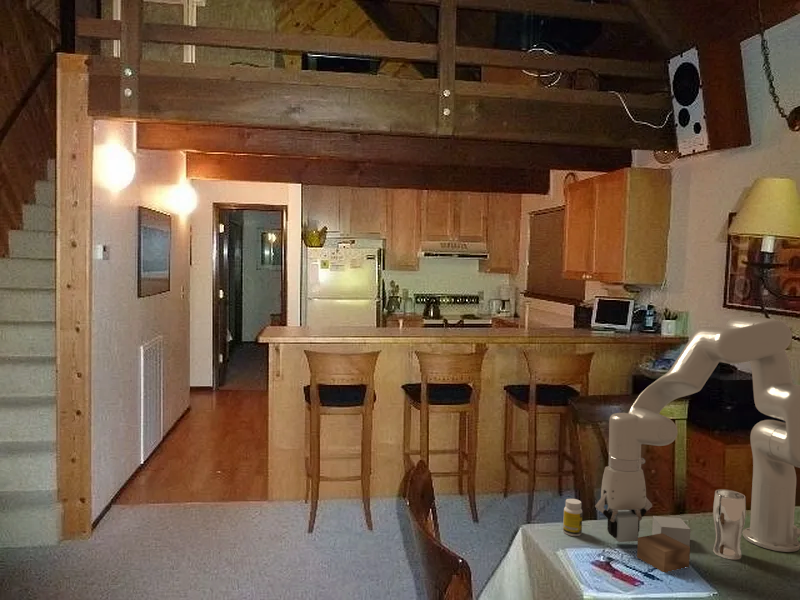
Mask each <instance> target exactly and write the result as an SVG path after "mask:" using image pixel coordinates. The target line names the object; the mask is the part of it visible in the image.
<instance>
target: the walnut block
mask: <svg viewBox="0 0 800 600" xmlns="http://www.w3.org/2000/svg"><path fill="white" fill-rule="evenodd" d="M636 550H637V552H636V558H637V559H639V560H641V561H643V562H644V563H646V564H648V565H649V564H650V566H651V565H652V566H651V567H653V568H655V569H656V568H657V570H658V569H659V570H658V571H660V572H661V573H663V572H665V573H668V571H670V572H673V571H672V570H674V571H677V569H679V570H681V568H683V569H686V568H685V567H688V568H690V559H691V558H690V555H691V553H690V552H691V547H689V546H687V545H685V544H683V543H681V542H679V541H677V540H675V539H673V538H671V537H669V536H667V535H665V534H663V533H660V534H655V535H652V534H650V535H645V536H638V541H637V549H636Z"/></svg>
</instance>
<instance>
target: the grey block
mask: <svg viewBox="0 0 800 600" xmlns="http://www.w3.org/2000/svg"><path fill="white" fill-rule="evenodd" d="M651 530H652V531H651V535H655V534H660V533H663V534H665V535H667V536H669V537H671V538H673V539H675V540H677V541H679V542H681V543H683V544H685V545H687V546H689V547H690V545H691V527H689V526H688V524H686V522H685V521H684V520H683V519H682V518H681V517H670V516H657V515H652V527H651ZM690 548H691V547H690Z"/></svg>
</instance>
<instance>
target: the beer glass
mask: <svg viewBox="0 0 800 600" xmlns="http://www.w3.org/2000/svg"><path fill="white" fill-rule="evenodd" d="M746 503H747V502H746V496H745V494H743V493H741V492H738V491H735V490H731V489H716V490H715V491H714V500H713V506H712V508H713V510H712V511H713V512H712V515H713V523H714V529H715V530H714V531H715V541H714V545H713V549H712V550H713V553H714V554H715V555H717V556H718V557H720V558H722V559H727V560H733V561H735V560H736V561H737V560H741V559H742V551H741V539H742V536H743V530H744V529H745V528H744V527H745V522H746V514H747V513H746V512H747V504H746Z"/></svg>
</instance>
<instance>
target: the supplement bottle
mask: <svg viewBox="0 0 800 600" xmlns="http://www.w3.org/2000/svg"><path fill="white" fill-rule="evenodd" d="M562 523H563V525H562V532H563V534H565V535H568V536H571V537H579V536H582V529H583V509H582V501H581V500H579V499H577V498H566V499H565V506H564V508H563V522H562Z"/></svg>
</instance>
